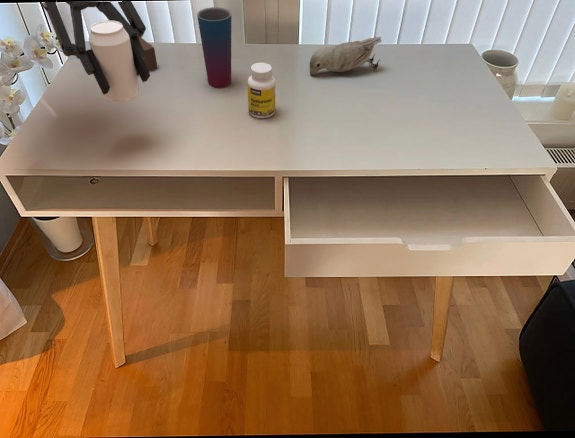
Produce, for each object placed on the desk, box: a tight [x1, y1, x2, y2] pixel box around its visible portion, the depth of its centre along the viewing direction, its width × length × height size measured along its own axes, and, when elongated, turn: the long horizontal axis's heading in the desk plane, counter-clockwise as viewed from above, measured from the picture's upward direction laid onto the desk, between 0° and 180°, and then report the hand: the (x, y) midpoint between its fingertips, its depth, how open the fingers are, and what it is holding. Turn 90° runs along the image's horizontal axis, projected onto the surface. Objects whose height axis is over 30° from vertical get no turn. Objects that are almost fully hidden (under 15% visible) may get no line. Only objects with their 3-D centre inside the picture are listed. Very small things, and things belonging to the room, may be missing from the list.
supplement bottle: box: [247, 62, 276, 119], centre depth 100 cm, size 5×5×10 cm
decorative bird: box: [309, 36, 382, 76], centre depth 114 cm, size 5×16×7 cm, turn 104°
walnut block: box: [135, 37, 158, 76], centre depth 115 cm, size 10×10×5 cm
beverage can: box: [88, 19, 140, 103], centre depth 84 cm, size 6×6×12 cm
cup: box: [196, 6, 232, 89], centre depth 107 cm, size 7×7×15 cm
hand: (126, 84), depth 84 cm, fingers closed on beverage can, 6 cm apart
